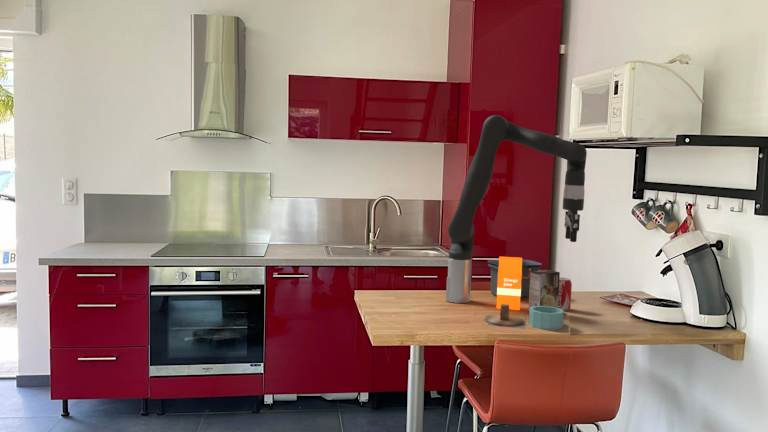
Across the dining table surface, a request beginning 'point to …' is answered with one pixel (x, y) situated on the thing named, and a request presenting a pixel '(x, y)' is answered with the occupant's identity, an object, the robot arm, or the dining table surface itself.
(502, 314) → the lid
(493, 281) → the storage bin
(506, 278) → the orange juice
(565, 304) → the beverage can
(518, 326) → the mat
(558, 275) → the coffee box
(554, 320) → the bowl
